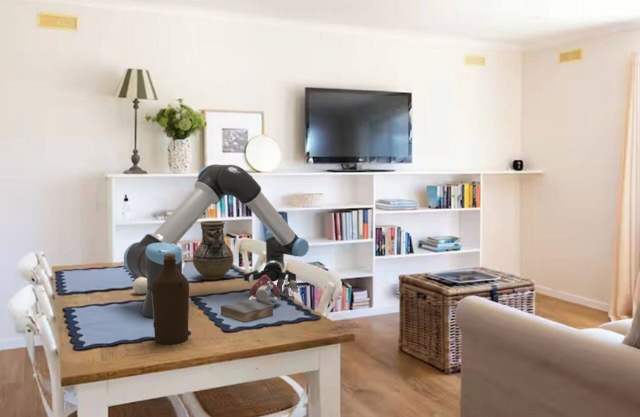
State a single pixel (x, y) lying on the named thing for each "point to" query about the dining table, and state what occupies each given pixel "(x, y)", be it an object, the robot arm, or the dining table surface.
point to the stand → (246, 310)
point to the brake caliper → (265, 292)
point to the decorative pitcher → (212, 252)
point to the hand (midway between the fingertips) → (268, 281)
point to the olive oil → (170, 303)
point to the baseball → (140, 285)
